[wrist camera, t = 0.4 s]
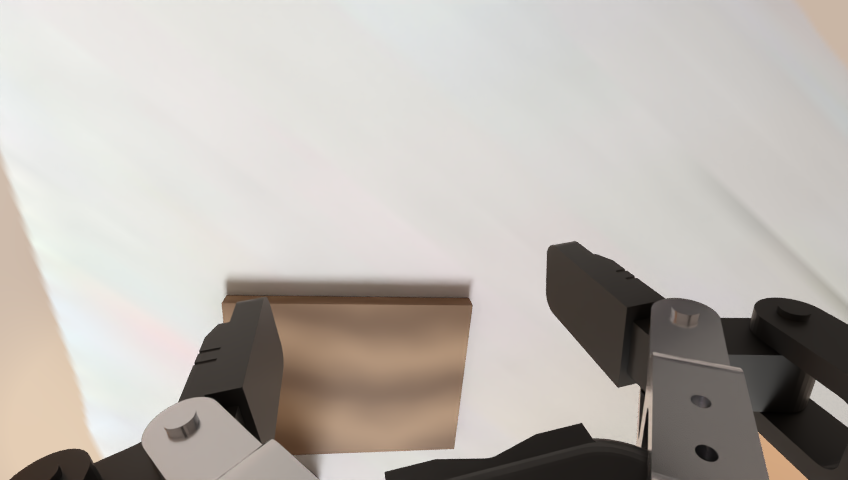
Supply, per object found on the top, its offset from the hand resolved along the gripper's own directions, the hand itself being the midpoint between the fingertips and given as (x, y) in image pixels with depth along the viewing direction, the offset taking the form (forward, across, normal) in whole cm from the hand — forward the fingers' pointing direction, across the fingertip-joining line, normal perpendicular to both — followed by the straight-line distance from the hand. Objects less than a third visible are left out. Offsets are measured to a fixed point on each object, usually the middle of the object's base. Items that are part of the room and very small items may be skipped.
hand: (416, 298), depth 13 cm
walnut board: (+18, +4, +17) cm, 26 cm away
